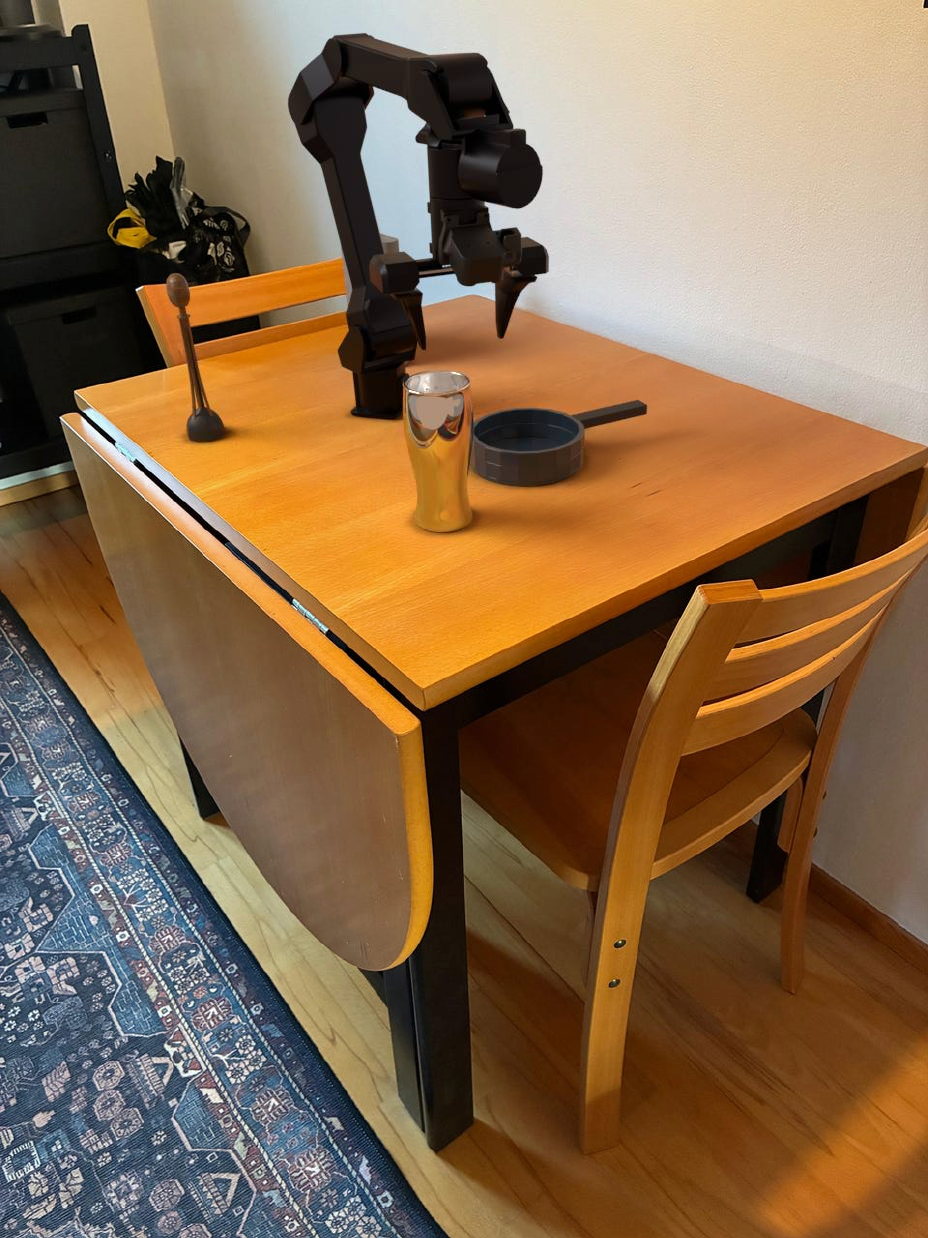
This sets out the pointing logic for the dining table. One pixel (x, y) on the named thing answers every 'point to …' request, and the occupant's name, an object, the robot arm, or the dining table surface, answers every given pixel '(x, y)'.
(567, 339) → the dining table surface
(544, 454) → the saucepan
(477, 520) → the dining table surface
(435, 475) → the chrome pilsner tumbler
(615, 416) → the saucepan handle
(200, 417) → the wooden tabletop sculpture
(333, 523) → the dining table surface
